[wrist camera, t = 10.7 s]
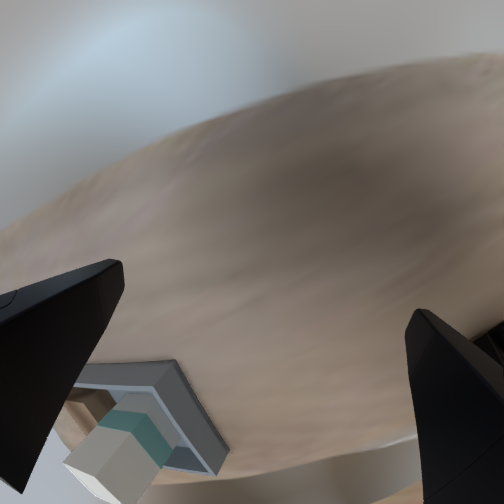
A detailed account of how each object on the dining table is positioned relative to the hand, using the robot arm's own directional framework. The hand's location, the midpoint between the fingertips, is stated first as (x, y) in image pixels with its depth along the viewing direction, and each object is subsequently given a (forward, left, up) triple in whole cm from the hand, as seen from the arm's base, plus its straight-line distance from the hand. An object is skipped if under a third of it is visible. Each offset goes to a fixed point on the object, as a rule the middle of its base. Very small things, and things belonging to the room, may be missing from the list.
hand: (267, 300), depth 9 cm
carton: (-7, +26, -11) cm, 29 cm away
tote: (-6, +29, -12) cm, 32 cm away
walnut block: (-4, +35, -11) cm, 37 cm away
